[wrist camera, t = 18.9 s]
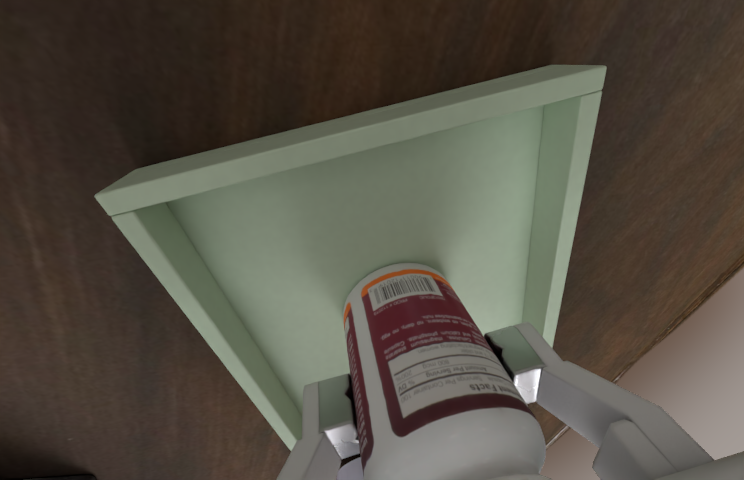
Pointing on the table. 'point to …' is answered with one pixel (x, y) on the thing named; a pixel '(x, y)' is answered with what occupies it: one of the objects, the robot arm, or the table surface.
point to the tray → (368, 222)
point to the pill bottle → (432, 386)
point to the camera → (68, 478)
